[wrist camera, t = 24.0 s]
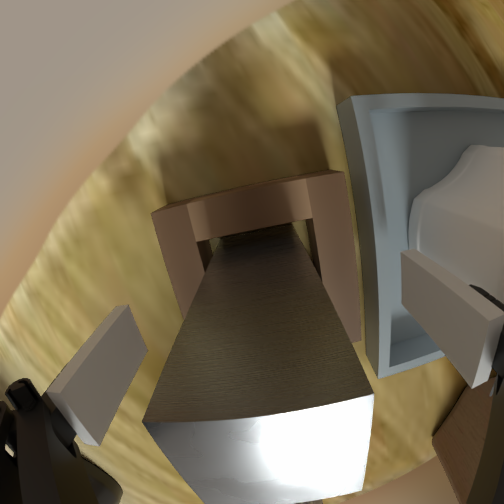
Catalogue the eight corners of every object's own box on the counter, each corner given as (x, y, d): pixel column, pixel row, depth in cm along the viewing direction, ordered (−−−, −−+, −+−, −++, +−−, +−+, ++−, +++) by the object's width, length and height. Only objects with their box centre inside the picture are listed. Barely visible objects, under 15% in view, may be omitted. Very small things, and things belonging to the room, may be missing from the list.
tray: (366, 354, 21) (378, 378, 18) (336, 105, 16) (350, 96, 13) (520, 297, 19) (538, 310, 16) (518, 106, 14) (541, 105, 11)
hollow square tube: (209, 342, 20) (202, 369, 18) (167, 204, 18) (150, 213, 15) (348, 316, 20) (361, 340, 17) (330, 169, 17) (344, 171, 14)
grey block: (236, 302, 19) (208, 507, 6) (220, 238, 18) (142, 422, 5) (303, 290, 19) (361, 490, 6) (292, 224, 18) (374, 393, 4)
